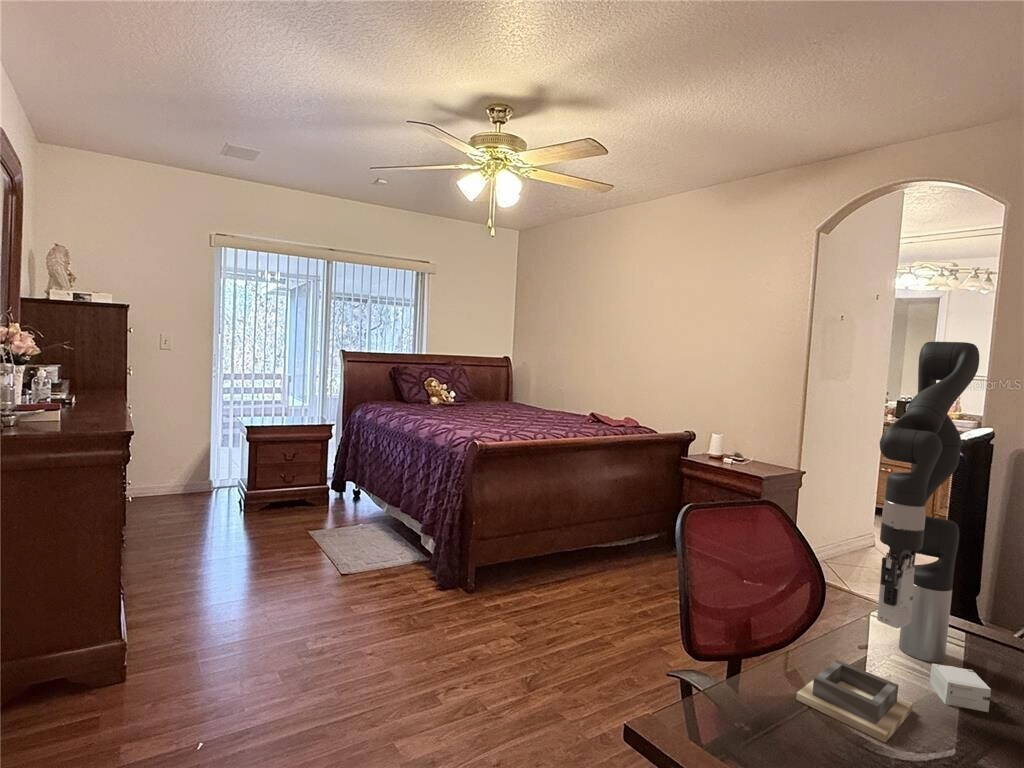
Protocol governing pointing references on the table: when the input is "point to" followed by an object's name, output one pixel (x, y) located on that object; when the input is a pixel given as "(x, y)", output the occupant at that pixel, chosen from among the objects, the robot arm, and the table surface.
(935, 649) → the robot arm
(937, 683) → the small box
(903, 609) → the skincare box
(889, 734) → the keyed socket block
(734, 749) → the table surface
